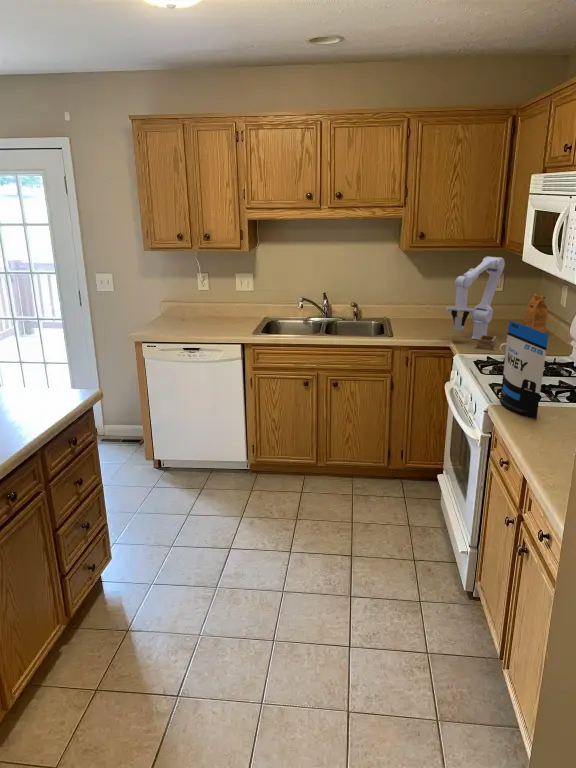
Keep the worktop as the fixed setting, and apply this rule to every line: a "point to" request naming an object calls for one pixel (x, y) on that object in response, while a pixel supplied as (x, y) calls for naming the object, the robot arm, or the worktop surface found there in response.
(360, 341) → the worktop surface
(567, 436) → the worktop surface
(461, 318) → the silver metal block
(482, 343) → the brown rectangular frame
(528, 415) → the protein powder
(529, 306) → the coffee package
